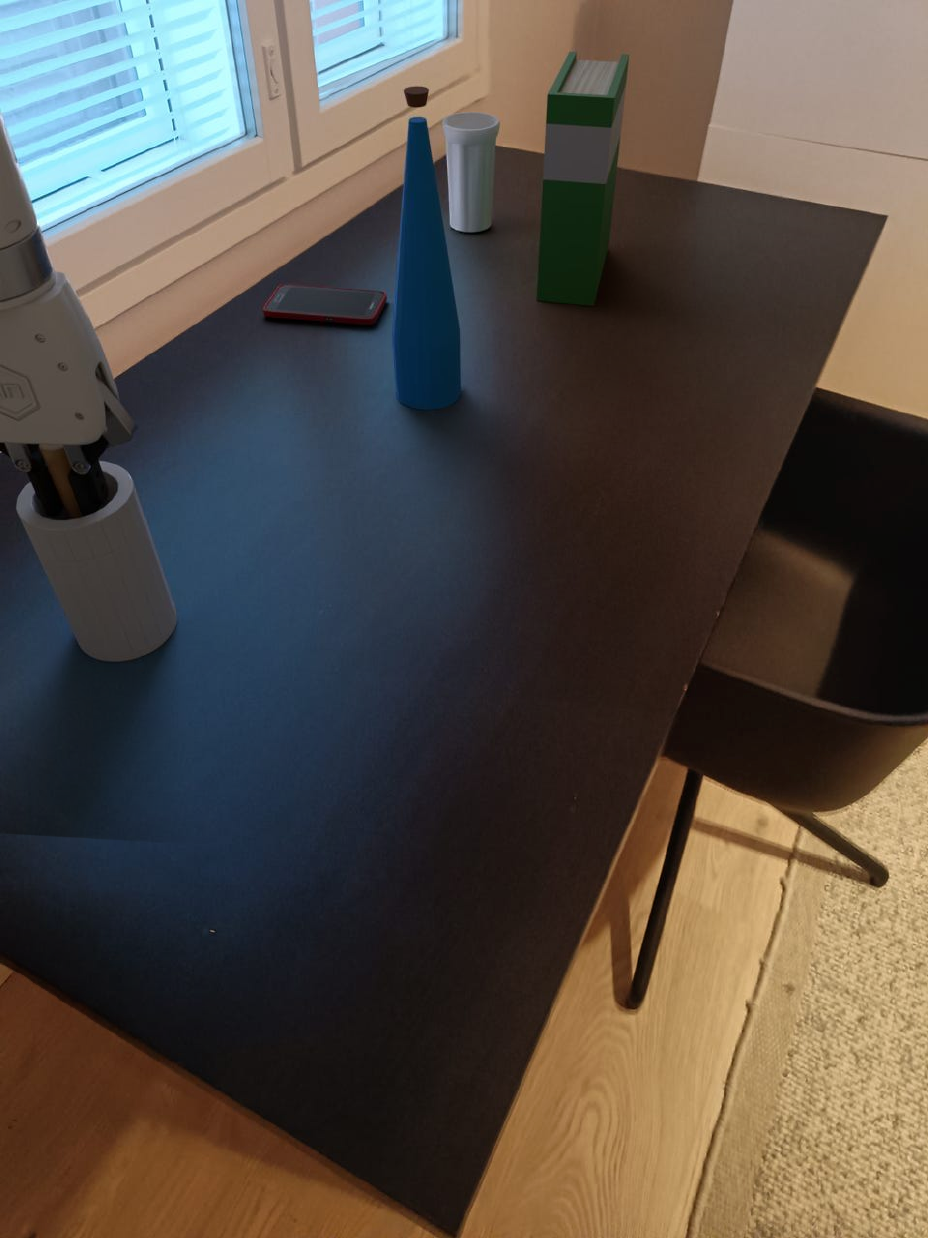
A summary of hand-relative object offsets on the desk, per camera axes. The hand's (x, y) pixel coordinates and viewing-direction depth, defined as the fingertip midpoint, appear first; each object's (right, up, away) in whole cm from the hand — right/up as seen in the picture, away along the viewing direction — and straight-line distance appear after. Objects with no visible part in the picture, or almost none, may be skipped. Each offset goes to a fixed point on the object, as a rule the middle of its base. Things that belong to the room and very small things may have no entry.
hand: (77, 504), depth 66 cm
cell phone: (+11, +31, +49) cm, 59 cm away
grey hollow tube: (0, -9, +9) cm, 13 cm away
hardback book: (+44, +38, +55) cm, 80 cm away
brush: (0, -7, +8) cm, 11 cm away
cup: (+30, +50, +67) cm, 88 cm away
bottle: (+25, +17, +35) cm, 46 cm away
